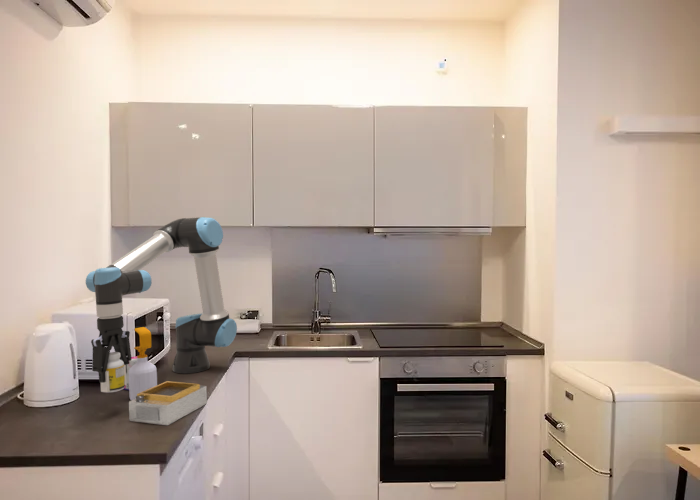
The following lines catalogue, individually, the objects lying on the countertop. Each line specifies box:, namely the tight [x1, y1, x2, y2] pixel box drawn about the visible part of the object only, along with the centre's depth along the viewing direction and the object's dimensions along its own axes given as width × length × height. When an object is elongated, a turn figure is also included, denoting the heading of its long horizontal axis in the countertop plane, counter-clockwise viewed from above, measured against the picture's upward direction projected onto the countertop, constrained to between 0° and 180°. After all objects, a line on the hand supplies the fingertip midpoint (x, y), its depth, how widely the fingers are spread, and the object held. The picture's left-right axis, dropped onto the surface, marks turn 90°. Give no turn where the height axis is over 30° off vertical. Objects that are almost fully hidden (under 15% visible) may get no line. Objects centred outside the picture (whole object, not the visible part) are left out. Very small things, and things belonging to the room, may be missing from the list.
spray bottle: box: [128, 326, 158, 401], centre depth 175 cm, size 9×9×25 cm
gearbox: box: [128, 380, 208, 426], centre depth 160 cm, size 20×14×8 cm
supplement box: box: [123, 355, 138, 391], centre depth 186 cm, size 6×6×12 cm
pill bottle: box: [102, 351, 125, 393], centre depth 158 cm, size 6×6×12 cm
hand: (114, 388), depth 159 cm, fingers closed on pill bottle, 6 cm apart
